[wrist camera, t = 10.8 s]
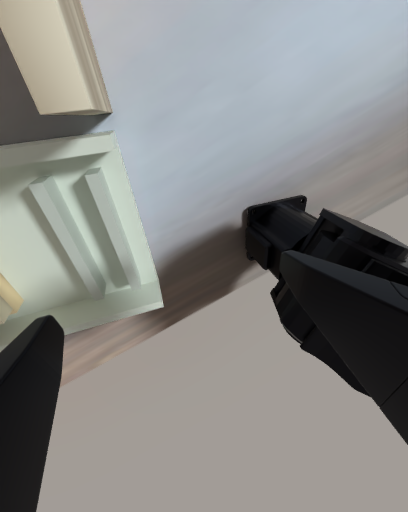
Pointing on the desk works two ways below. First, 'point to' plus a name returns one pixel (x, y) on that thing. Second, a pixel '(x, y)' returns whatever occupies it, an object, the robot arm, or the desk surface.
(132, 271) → the rack
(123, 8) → the desk surface
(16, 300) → the offcut bottom
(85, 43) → the birch sheet
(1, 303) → the offcut top
